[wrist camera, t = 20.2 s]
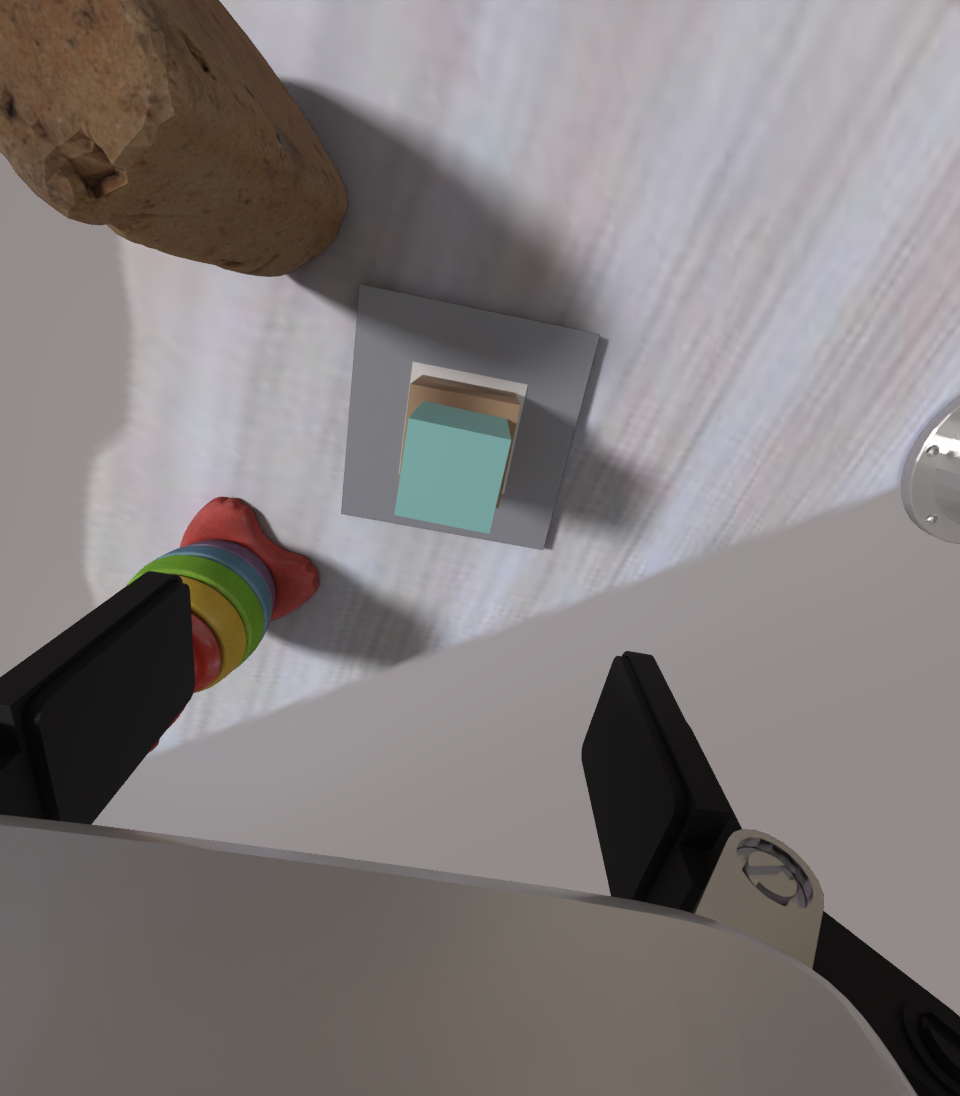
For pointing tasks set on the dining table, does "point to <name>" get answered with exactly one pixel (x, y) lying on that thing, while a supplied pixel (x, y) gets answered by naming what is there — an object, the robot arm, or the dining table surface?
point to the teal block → (452, 466)
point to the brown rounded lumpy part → (164, 131)
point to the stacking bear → (233, 585)
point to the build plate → (475, 358)
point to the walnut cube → (464, 404)
